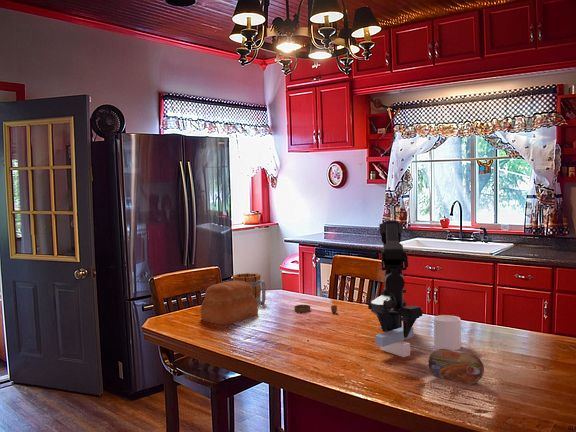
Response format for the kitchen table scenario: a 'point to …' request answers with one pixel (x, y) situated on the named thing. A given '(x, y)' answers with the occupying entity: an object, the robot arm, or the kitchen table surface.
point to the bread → (228, 303)
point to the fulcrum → (398, 348)
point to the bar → (391, 337)
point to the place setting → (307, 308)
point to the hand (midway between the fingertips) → (394, 334)
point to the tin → (456, 366)
